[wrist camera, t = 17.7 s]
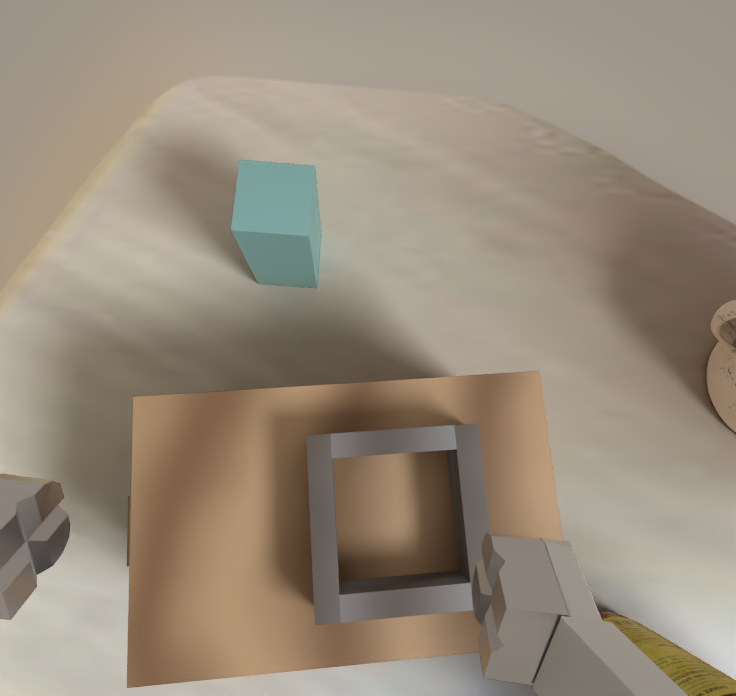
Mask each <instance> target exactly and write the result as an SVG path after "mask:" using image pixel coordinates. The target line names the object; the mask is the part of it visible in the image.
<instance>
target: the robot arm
mask: <svg viewBox="0 0 736 696" xmlns="http://www.w3.org/2000/svg"><path fill="white" fill-rule="evenodd" d="M63 498H64V495H63V491H62V488H61V484H60V483H57V482H54V481H50V480H43V479H36V478H29V477H22V476H15V475H8V474H0V619H6V620H11V619H12V618H13V617H14V615H15V614H16V613H17V611H18V610H19V609H20V608H21V606H22V605H23V604H24V602H25V601H26V600H27V599H28V597H29V596H30V595H31V593H32V592H33V591H34V590H35V588H36V587H37V575H38V574H40V573H41V572H43V571H45V570H46V569H48V568H50V567H52V566H53V565H54V564H55V562H56V561H57V560H58V558H59V557H60V556H61V554H62V553H63V551H64V548H65V546H66V543H67V541H68V538H69V532H70V522H69V517H68V514H67V513H66V512H65V511H64V510H63V509H62V508H61V507H60V506H59V503H60V502H61V501H62V499H63ZM481 550H482V556H483V559H482V560H481V561H479V562H478V563H477V564H476V567H475V571H474V576H473V586H472V600H473V610H474V617H475V618H476V619H477V621H478V622H479V623H480V624H481V626H482V628H481V631H480V635H479V638H478V644H479V651H480V657H481V664H482V670H483V677H484V678H487V679H494V680H501V681H507V682H514V683H520V684H527V685H533V687H532V689H533V690H534V692H535V693H536V695H537V696H688V695H687V694H686V693H685V692H684V691H683V690H682V689H681V688H679V687H678V686H677V685H676V684H675V683H674V682H673V681H672V680H671V679H670V678H669V677H668V676H667V675H666V674H665V673H664V672H663V671H662V670H661V669H660V668H659V667H658V666H656V665H655V664H654V663H653V662H652V661H651V660H650V659H649V658H648V657H647V656H646V655H645V654H644V653H643V652H642V651H641V650H640V649H639V648H638V647H637V646H636V645H634V644H633V643H632V642H631V641H630V640H629V639H628V638H627V637H626V636H625V635H624V634H623V633H622V632H621V631H620V630H619V629H618V628H617V627H616V626H615V625H614V624H613V623H611V622H606V621H602V618H601V616H600V614H599V611H598V609H597V606H596V604H595V601H594V599H593V596H592V594H591V591H590V589H589V586H588V584H587V582H586V579H585V577H584V574H583V572H582V569H581V567H580V564H579V562H578V559H577V557H576V554H575V552H574V550H573V547H572V545H571V544H570V543H569V542H568V541H565V540H556V539H547V538H537V537H528V536H518V535H509V534H500V533H491V532H487V533H486V534H485V536H484V538H483V541H482V545H481Z"/></svg>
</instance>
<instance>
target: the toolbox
mask: <svg viewBox="0 0 736 696" xmlns="http://www.w3.org/2000/svg"><path fill="white" fill-rule="evenodd" d="M487 532H491V533H500V534H509V535H518V536H528V537H537V538H547V539H556V540H562V533H561V526H560V518H559V511H558V504H557V497H556V490H555V482H554V475H553V468H552V461H551V454H550V446H549V439H548V432H547V425H546V417H545V410H544V403H543V396H542V389H541V381H540V374H539V371H532V372H516V373H500V374H485V375H469V376H453V377H437V378H422V379H406V380H390V381H375V382H359V383H343V384H327V385H312V386H296V387H280V388H265V389H249V390H233V391H217V392H202V393H186V394H170V395H155V396H139V397H133V424H132V472H131V496H128V541H127V566H129V614H128V661H127V688H131V687H141V686H151V685H161V684H170V683H180V682H190V681H200V680H210V679H220V678H230V677H239V676H249V675H259V674H269V673H279V672H289V671H298V670H308V669H318V668H328V667H338V666H348V665H357V664H367V663H377V662H387V661H397V660H407V659H416V658H426V657H436V656H446V655H456V654H466V653H475V652H480V651H479V644H478V638H479V635H480V631H481V628H482V626H481V624H480V623H479V622H478V621H477V619H476V618H475V617H474V610H473V600H472V586H473V576H474V571H475V567H476V564H477V563H478V562H479V561H481V560H482V559H483V556H482V550H481V545H482V541H483V538H484V536H485V534H486V533H487Z"/></svg>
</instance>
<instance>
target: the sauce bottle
mask: <svg viewBox="0 0 736 696" xmlns="http://www.w3.org/2000/svg"><path fill="white" fill-rule="evenodd" d="M599 614H600V616H601V618H602V621H606V622H611V623H613V624H614V625H615V626H616V627H617V628H618V629H619V630H620V631H621V632H622V633H623V634H624V635H625V636H626V637H627V638H628V639H629V640H630V641H631V642H632V643H633V644H634V645H636V646H637V647H638V648H639V649H640V650H641V651H642V652H643V653H644V654H645V655H646V656H647V657H648V658H649V659H650V660H651V661H652V662H653V663H654V664H655V665H656V666H658V667H659V668H660V669H661V670H662V671H663V672H664V673H665V674H666V675H667V676H668V677H669V678H670V679H671V680H672V681H673V682H674V683H675V684H676V685H677V686H678V687H679V688H681V689H682V690H683V691H684V692H685V693H686V694H687V695H688V696H736V680H734V679H732V678H731V677H729V676H727V675H726V674H724V673H722V672H721V671H719V670H717V669H715V668H714V667H712V666H710V665H709V664H707V663H705V662H704V661H702V660H701V659H699V658H697V657H696V656H694V655H692V654H690V653H689V652H687V651H685V650H684V649H682V648H681V647H679V646H677V645H676V644H674V643H672V642H671V641H669V640H667V639H666V638H664V637H662V636H661V635H659V634H657V633H655V632H654V631H652V630H650V629H648V628H647V627H645V626H643V625H642V624H640V623H638V622H636V621H634V620H631V619H629V618H627V617H624V616H622V615H619V614H617V613H612V612H609V611H607V612H599Z"/></svg>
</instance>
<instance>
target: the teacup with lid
mask: <svg viewBox="0 0 736 696" xmlns="http://www.w3.org/2000/svg"><path fill="white" fill-rule="evenodd" d="M732 319H736V300H732V301H729V302H727V303H725V304H724V305H722V306H721V307H720V308H719V309H718V310H717V311H716V313H715V315H714V316H713V318H712V321H711V330H712V333H713V334H714V336H715V337H716V338H717V339H718V340H719V342H718V343H717V344H716V346H715V347H714V349H713V351H712V353H711V355H710V358H709V361H708V366H707V386H708V391H709V395H710V398H711V400H712V403H713V405H714V407H715V409H716V411H717V412H718V414H719V415H720V417H721V418H722V420H723V421H724V422H725V423H726V424H727V425H728V426H729V427H730V428H731V429H732V430H733V431H734V432H735V433H736V328H734V327H733V326H732V325H731V324H730V323H729V320H732Z"/></svg>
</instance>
